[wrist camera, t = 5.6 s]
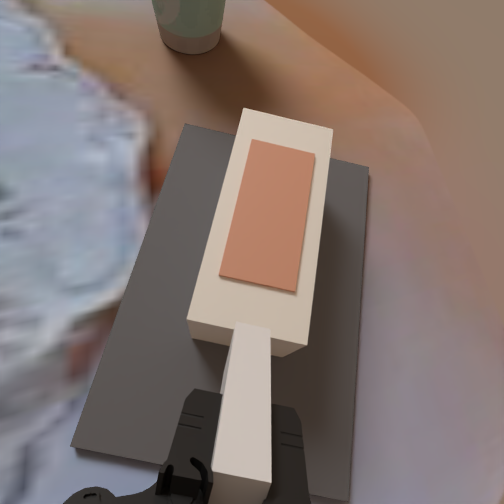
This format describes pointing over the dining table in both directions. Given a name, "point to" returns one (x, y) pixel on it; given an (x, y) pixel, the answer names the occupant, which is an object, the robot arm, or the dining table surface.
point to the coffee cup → (189, 24)
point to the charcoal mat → (215, 355)
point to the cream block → (265, 234)
